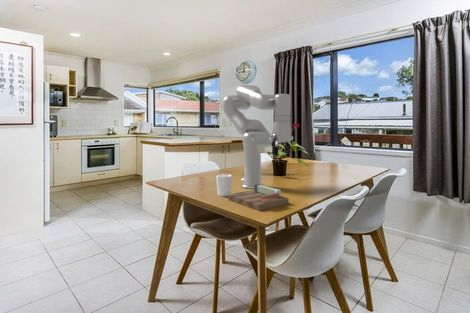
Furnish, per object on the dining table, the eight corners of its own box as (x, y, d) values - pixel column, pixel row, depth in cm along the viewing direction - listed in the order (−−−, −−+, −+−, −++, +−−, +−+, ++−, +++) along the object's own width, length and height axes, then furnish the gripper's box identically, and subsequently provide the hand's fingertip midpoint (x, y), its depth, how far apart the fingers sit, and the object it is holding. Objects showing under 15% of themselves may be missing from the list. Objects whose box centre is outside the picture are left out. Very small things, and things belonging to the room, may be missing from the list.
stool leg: (281, 196, 130) (281, 189, 130) (277, 197, 129) (277, 190, 128) (258, 190, 143) (258, 184, 143) (254, 191, 141) (254, 184, 141)
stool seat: (228, 199, 136) (228, 188, 136) (256, 194, 147) (256, 183, 146) (258, 210, 119) (258, 197, 118) (288, 203, 129) (288, 191, 129)
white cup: (225, 192, 151) (225, 173, 150) (235, 195, 145) (234, 175, 144) (213, 194, 146) (213, 175, 145) (222, 197, 140) (222, 177, 139)
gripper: (287, 119, 149) (286, 152, 151) (264, 119, 138) (264, 154, 140) (299, 119, 143) (298, 153, 145) (276, 119, 132) (275, 156, 134)
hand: (281, 154), depth 143 cm, fingers open, 9 cm apart
